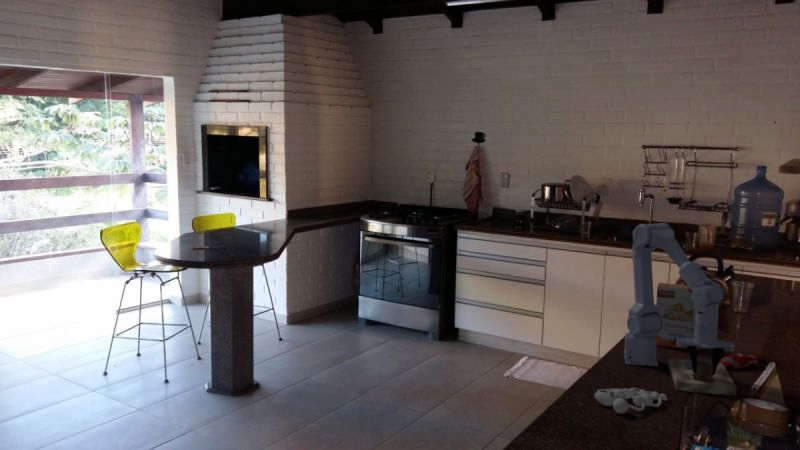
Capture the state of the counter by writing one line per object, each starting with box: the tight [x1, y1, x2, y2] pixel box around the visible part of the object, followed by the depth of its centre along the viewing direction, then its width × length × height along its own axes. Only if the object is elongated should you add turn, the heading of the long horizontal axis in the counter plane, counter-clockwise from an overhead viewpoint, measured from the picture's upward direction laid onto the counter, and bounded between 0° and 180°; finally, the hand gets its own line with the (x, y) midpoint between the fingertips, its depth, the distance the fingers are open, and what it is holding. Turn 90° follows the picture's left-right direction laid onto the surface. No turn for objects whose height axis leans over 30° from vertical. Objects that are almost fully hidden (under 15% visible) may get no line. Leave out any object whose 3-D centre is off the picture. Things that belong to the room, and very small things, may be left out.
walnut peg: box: [694, 359, 713, 382], centre depth 179 cm, size 4×4×7 cm
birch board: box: [667, 357, 738, 397], centre depth 184 cm, size 15×20×3 cm
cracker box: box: [655, 282, 700, 352], centre depth 213 cm, size 14×6×21 cm, turn 62°
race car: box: [720, 352, 760, 371], centre depth 194 cm, size 13×5×4 cm, turn 99°
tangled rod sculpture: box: [594, 387, 668, 414], centre depth 169 cm, size 19×14×4 cm
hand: (703, 373), depth 179 cm, fingers closed on walnut peg, 4 cm apart
